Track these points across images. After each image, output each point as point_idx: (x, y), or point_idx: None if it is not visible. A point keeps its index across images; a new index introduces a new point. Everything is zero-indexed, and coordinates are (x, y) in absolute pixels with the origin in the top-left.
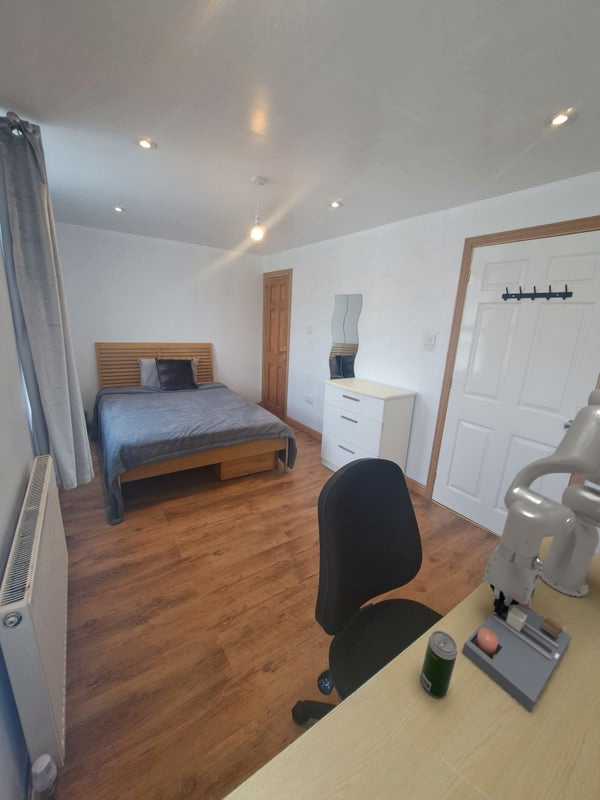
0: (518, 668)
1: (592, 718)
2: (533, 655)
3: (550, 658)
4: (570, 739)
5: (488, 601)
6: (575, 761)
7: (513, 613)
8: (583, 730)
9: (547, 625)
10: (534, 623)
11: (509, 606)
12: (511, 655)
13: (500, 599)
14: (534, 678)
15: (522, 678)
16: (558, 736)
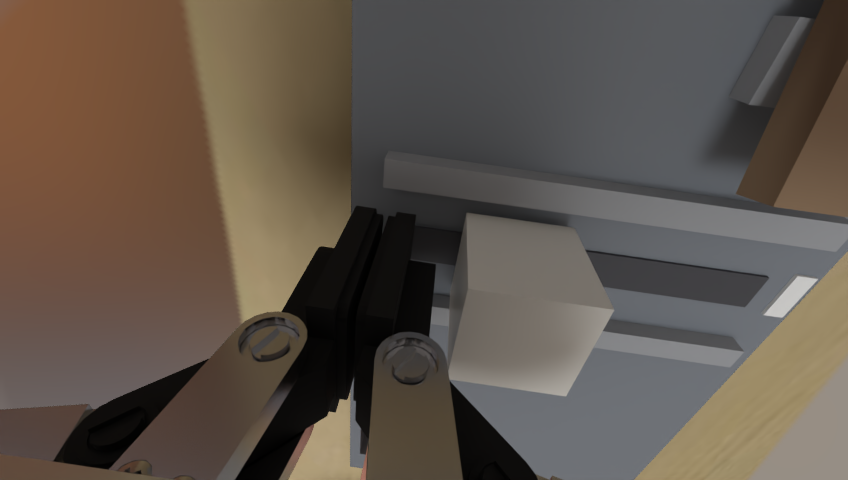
0: (553, 451)
1: (838, 363)
2: (625, 373)
3: (732, 363)
4: (708, 448)
5: (277, 16)
6: (705, 477)
7: (483, 366)
8: (770, 412)
9: (841, 187)
10: (671, 95)
11: (431, 309)
12: (519, 424)
13: (331, 392)
14: (618, 451)
15: (570, 471)
16: (671, 456)
